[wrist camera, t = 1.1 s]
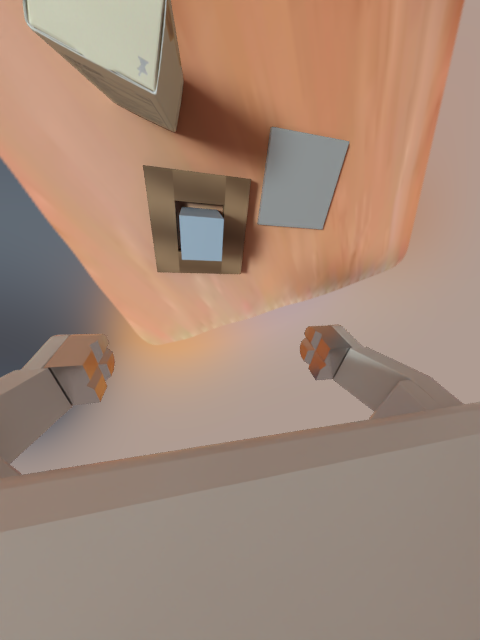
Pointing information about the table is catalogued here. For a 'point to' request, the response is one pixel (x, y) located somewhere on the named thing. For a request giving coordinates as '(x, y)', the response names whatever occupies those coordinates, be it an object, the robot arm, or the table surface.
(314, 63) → the table surface
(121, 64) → the skincare box
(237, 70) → the table surface
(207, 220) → the blue block
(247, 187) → the walnut stand
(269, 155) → the ceramic pad
